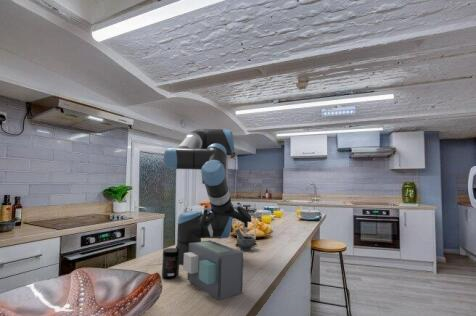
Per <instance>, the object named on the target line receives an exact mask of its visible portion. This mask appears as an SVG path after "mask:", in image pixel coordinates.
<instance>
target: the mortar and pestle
mask: <svg viewBox="0 0 476 316" xmlns="http://www.w3.org/2000/svg"><path fill="white" fill-rule="evenodd" d="M234 232H235V234H236V235H237V238H236V243H237V245H238V246H239V251H242V252H243V253H245V252H246V253H248V252H251V251H252V247H253V246H254V244H255V237H253V236H249V235H247V236H246V235H243V233H242V232H241V230H240V228H239V227H238V228H236V229H235V230H234Z"/></svg>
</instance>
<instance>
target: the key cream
mask: <svg viewBox="0 0 476 316" xmlns="http://www.w3.org/2000/svg"><path fill="white" fill-rule="evenodd" d="M182 265H183V266H182V267H183V268H182V269H183V271H185V272H187V274H188V273H190V274H193V273H197V272H198V267H199V255H198V254H196V253H193V252H189V253H184V262H183V264H182Z"/></svg>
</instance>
